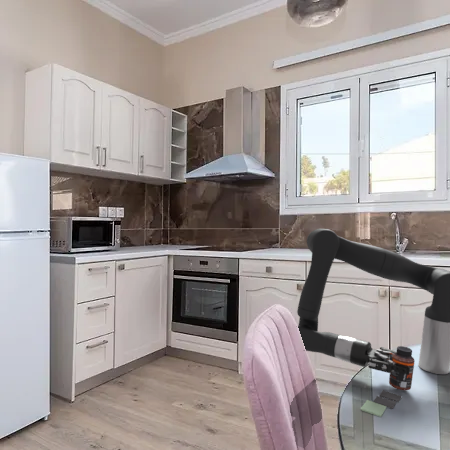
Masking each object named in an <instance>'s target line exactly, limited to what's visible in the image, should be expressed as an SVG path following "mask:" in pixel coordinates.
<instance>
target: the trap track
mask: <svg viewBox="0 0 450 450" xmlns="http://www.w3.org/2000/svg"><path fill="white" fill-rule="evenodd" d="M401 399H402V395H400V394H396V393H394V392H392V391H391V392H390V391H387V390H384V389H382V391H381V393H379V395H376V396H375V398H374V399H373V401H372V400H370V399H369V400H368V399H366V400H365V402H364V403H363V405H362V406H361V407H360V411H362V412H365V413H367V414H371V415H374V416H377V417H379V418H382V416H383V415H384V413H385V411H386V410H387V408H388V409H391V410H393V409H394V408H395V406H396V404H397V403H400V401H401Z"/></svg>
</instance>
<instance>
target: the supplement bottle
mask: <svg viewBox="0 0 450 450" xmlns="http://www.w3.org/2000/svg"><path fill="white" fill-rule="evenodd" d="M396 352H397V353H394V354H393V356H392V361H393V362H395V364H396V363H399V364H403V365H406V366H409V367H410V373H409V374H408V375H407V374H404V373H400V372H397V371H394V372H392V371H391V373H389V377H388V378H389V380H388V384H389V385H390V386H391V387H392V388H394V389H396V390H400V391H405V392H407V391H410V390H411V389H412V382H413V374H414V368H415V358H414V357H413V356H412V355H413V350H412V349H411V348H409V347H407V346H402V345H399V346H397V347H396Z"/></svg>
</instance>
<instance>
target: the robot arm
mask: <svg viewBox="0 0 450 450" xmlns="http://www.w3.org/2000/svg"><path fill="white" fill-rule="evenodd" d="M306 245H307V248H308V251H310V252H311V262H310V267H309V270H308V273H307V277H306V280H305V282H304V284H303V286H302V290H301V292H300V296H299V301H298V305H297V311H296V313H297V315H298V317H299V320H298V325H297V326H298V328H299V331H300V334H301V337H302V340H303V343H304V346H305V349H306V352H312V353H318V354H319V353H320V354H323V355H325V356H328V357H332V358H335V359H339V360H341V361H342V362H346V363H350V364H353V365H356V366H359V367H363V368H366V367H368V368H369V369H371V370H375V371H380V372H384V373H388V374H390V373H391V371H392V372H394V371H397V372H400V373H404V374H407V375H408V374H409V373H410V367H409V366H406V365H403V364H399V363H396V364H395V362H393V361H392V356H393V354H394V353H397V350H392V349H389V348H387V347H383V346H379V348H376V349H375V348H372V344H371V342H370V341H367V340H364V339H359V338H357V337H356V338H355V337H351V336H348V335H341V334H337V333H333V332H329V331H318V330H319V315H320V311H321V307H322V302H323V297H324V292H325V288H326V285H327V280H328V277H329V274H330V271H331V268H332V265H333V264H334V261H335V260H338V261H341V262H343V263H346V264H348V265H350V266H353V267H355V268H357V269H359V270H361V271H363V272H365V273H368V274H371V275H373V276H376V277H378V278H379V277H380V278H382V279H386V280H389V281H394V282H400V283H407V284H411V285H412V286H415V287H418V288H420V289H423V290H424V291H427V292H428V293H430V294H432V301H431V305H428V306H426V308H425V310H424V318H423V327H422V335H421V343H420V349H419V358H418V363H417V364H418V367H419V368H420V369H422V370H423V371H426V372H428V373H432V374H436V375H448V374H449V373H450V271H449V270H447V269H443V268H440V267H434V266H429V265H425V264H422V263H418V262H415V261H413V260H411V259H409V258H407V257H405V256H404V255H401V254H399V253H397V252H395V251H391V250H388V249H386V248H384V247H379V246H375V245H371V244H367V243H362V242H356V241H352V240H349V239H346V238H344V237H342V236H339V235H337V233H336V232H335V231H334V230H331V229H329V228H316V229H314V230H312V231H311V232H310V233H309V234H308V235H307V238H306Z"/></svg>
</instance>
